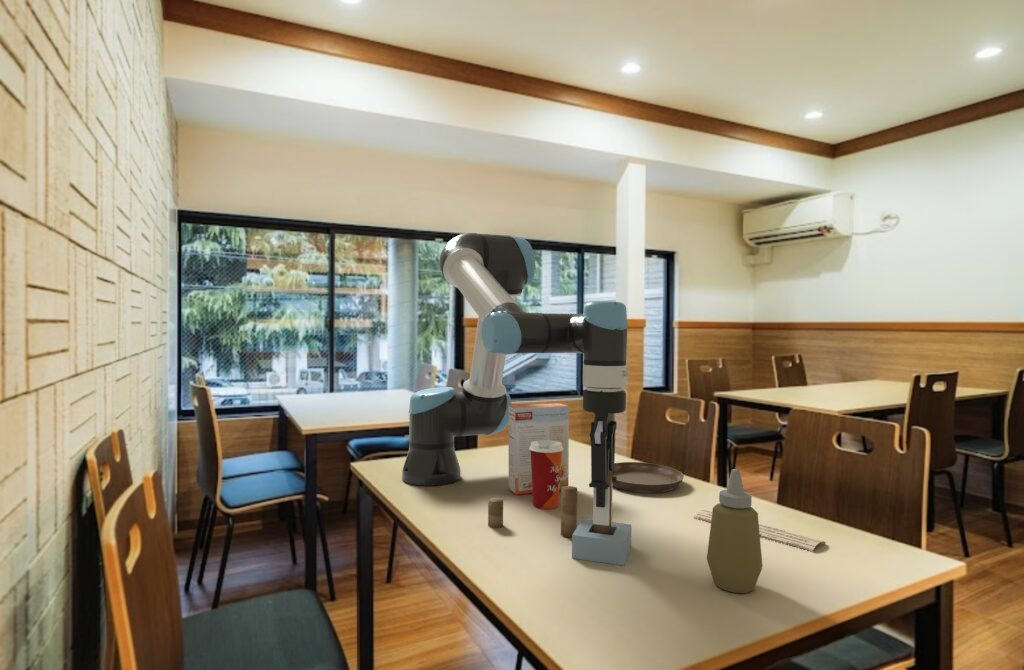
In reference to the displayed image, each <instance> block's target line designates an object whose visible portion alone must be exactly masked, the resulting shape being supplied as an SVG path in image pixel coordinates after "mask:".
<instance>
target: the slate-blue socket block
mask: <svg viewBox="0 0 1024 670" xmlns="http://www.w3.org/2000/svg"><path fill="white" fill-rule="evenodd" d="M631 547H632V523H623V522H616V521H615V522H614V521H611V535H606V534H599V533H594V524H593V519H592V518H591V519H590V518H582V519H581V520H580V522H579V524H577V528H576V530H575V531H574V533H573V534H572V538H571V559H577V560H582V561H583V560H584V561H591V562H598V563H603V564H611V565H616V566H617V565H619V566H623V567H624V566H626V562H627V560H628V557H629V553H630V551H631Z"/></svg>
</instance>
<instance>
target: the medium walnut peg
mask: <svg viewBox="0 0 1024 670" xmlns="http://www.w3.org/2000/svg"><path fill="white" fill-rule="evenodd" d="M560 491H561V494H560V495H561V496H560V497H561V498H560V499H561V503H560V505H561V506H560V508H561V509H560V536H561V537H563V538H566V539H567V538H568V539H572V534H573V533H574V531H575V530H576V528H577V527H578V521H577V519H578V518H577V517H578V488H577V487H576V486H571V485H568V486H564V487H562V488H561V490H560Z"/></svg>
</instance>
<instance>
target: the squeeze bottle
mask: <svg viewBox="0 0 1024 670" xmlns="http://www.w3.org/2000/svg"><path fill="white" fill-rule="evenodd" d="M718 493H719V494H718V497H719V498H718V501H719V503H717V504H715V505H714V506H713V508H712V510H711V511H712V520H711V523H710V528H709V529H710V530H709V537H708V545H707V553H706V561H707V564H708V567H709V571H710V574H711V577H712V580H713V583H714V585H715V586H716V587H718V588H719V589H722V590H724V591H726V592H727V591H728V592H731V593H737V594H748V593H751V592H753V591H754V589H755V588H756V585H757V583H758V580H759V577H760V575H761V572H762V570H763V558H762V557H763V556H762V545H761V538H760V532H759V524H760V521H759V513H758V512H757V511H756V510H755V508H753V507H752V498H753V497H752V495H751V493H749V492H747V491H745V489H744V485H743V480H742V475H741V470H739V469H737V468H733V469H731V471H730V475H729V479H728V483H727V487H726V489H723V490H720V491H719V492H718Z"/></svg>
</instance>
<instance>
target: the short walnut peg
mask: <svg viewBox="0 0 1024 670" xmlns="http://www.w3.org/2000/svg"><path fill="white" fill-rule="evenodd" d="M487 508H488V509H487V513H488V514H487V527H489V528H491V527H492V529H499V528H503V526H504V500H503V499H502V498H497V497H495V498H494V497H493V498H490V499H488V503H487Z"/></svg>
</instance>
